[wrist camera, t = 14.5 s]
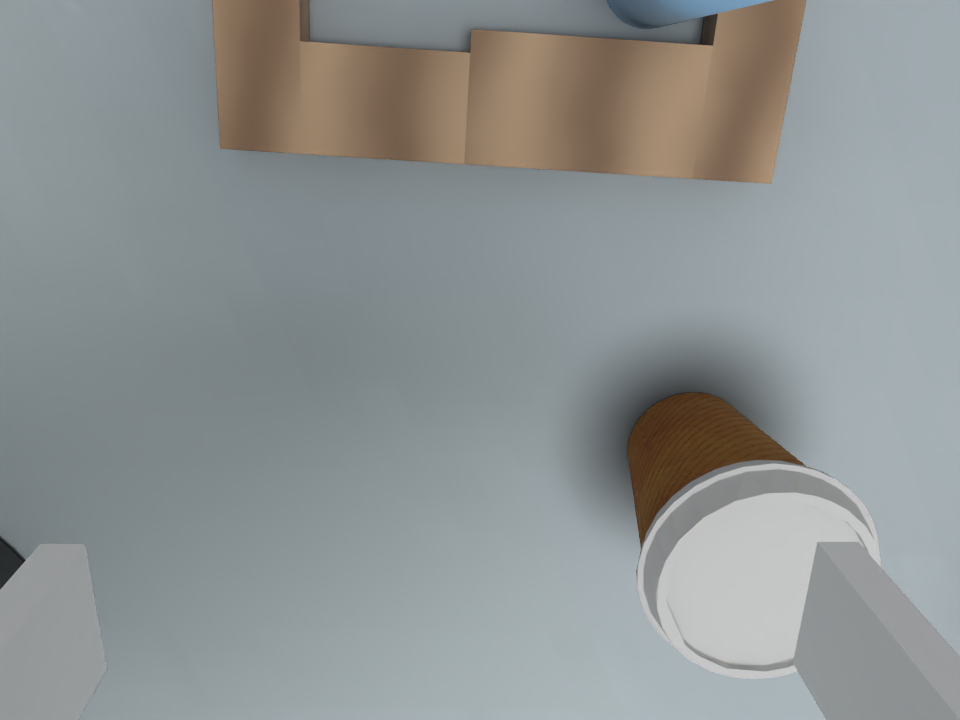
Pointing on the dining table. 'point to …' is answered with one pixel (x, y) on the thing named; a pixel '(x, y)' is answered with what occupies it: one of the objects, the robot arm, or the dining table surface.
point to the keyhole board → (513, 95)
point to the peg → (672, 10)
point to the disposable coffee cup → (730, 534)
